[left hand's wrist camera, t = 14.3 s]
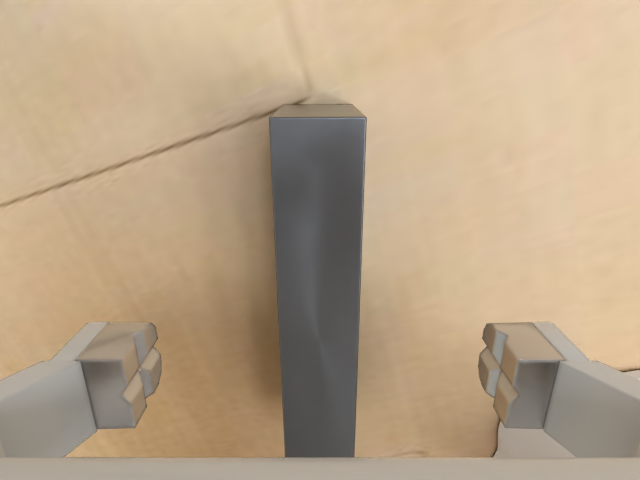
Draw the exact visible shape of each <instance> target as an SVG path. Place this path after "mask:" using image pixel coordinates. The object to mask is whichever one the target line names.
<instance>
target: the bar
mask: <svg viewBox="0 0 640 480" xmlns="http://www.w3.org/2000/svg"><path fill="white" fill-rule="evenodd" d="M366 121H367V118H366V117H365V116H364V115H363V114H362V113H361V112H360V111H359V110H358V109H357V108H356V107H355V106H354V105H352V104H303V105H283V106H282V107H280V108H279V109H278V110H277V111H276V112H275V113H274V114H273V115H272V116H271V117H270V118H269V129H270V150H271V171H272V192H273V213H274V234H275V255H276V276H277V297H278V318H279V339H280V360H281V381H282V402H283V423H284V444H285V457H354V451H355V423H356V396H357V368H358V341H359V313H360V286H361V258H362V231H363V204H364V176H365V149H366Z"/></svg>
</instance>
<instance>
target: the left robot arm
mask: <svg viewBox="0 0 640 480" xmlns="http://www.w3.org/2000/svg"><path fill="white" fill-rule="evenodd" d="M157 339H158V337H157V332H156V327H155V326H154V325H153V324H152V323H136V322H90V323H87V324H86V325H85V326H84V327H83V328H82V329H81V330H80V331H79V332H78V333H77V334H76V335H75V336H74V337H73V338H72V339H71V340H70V341H69V342H68V343H67V344H66V345H65V346H64V347H63V348H62V349H61V350H60V351H59V352H58V353H57V354H56V355H55V356H54V357H53V358H52V359H51V360H50V361H42V362H39V363H37V364H35V365H33V366H30V367H28V368H26V369H24V370H22V371H19V372H17V373H15V374H13V375H11V376H8V377H6V378H4V379H2V380H0V480H640V370H635V371H629V372H621V371H618V370H616V369H614V368H612V367H609V366H607V365H605V364H603V363H601V362H598V361H590V360H589V359H588V358H587V357H586V356H585V355H584V354H583V353H582V352H581V351H580V350H579V349H578V348H577V347H576V346H575V345H574V344H573V343H572V342H571V341H570V340H569V339H568V338H567V337H566V336H565V335H564V334H563V333H562V332H561V331H560V330H559V329H558V328H557V327H556V325H555V324H553V323H551V322H524V323H488V324H486V326H485V328H484V331H483V337H482V339H483V340H484V342H485V344H486V345H487V347H486V348H485V349H484V350H483V351H482V352H481V353H480V356H479V364H478V367H479V377H480V381H481V384H482V386H483V388H484V390H485V392H486V393H487V394H488V395H490V396H491V397H493V398H494V404H493V407H494V409H495V411H496V413H497V414H498V416H499V418H500V420H501V421H500V424H499V428H498V448H497V451H496V453H495V455H494V456H493V457H65V456H66V455H67V454H69V453H70V452H71V451H72V450H74V449H75V448H76V447H77V446H79V445H80V444H81V443H82V442H84V441H85V440H86V439H87V438H89V437H90V436H91V435H93V434H94V433H95V432H96V431H97V429H120V428H135V427H136V425H137V424H138V422H139V420H140V418H141V416H142V414H143V413H144V411H145V409H146V407H147V404H146V398H147V397H149V396H150V395H152V394H153V393H154V392H155V390H156V388H157V386H158V384H159V380H160V376H161V356H160V353H159V352H158V351H157V350H156V349H155V348H154V347H153V345H154V344H155V342H156V340H157Z"/></svg>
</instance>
